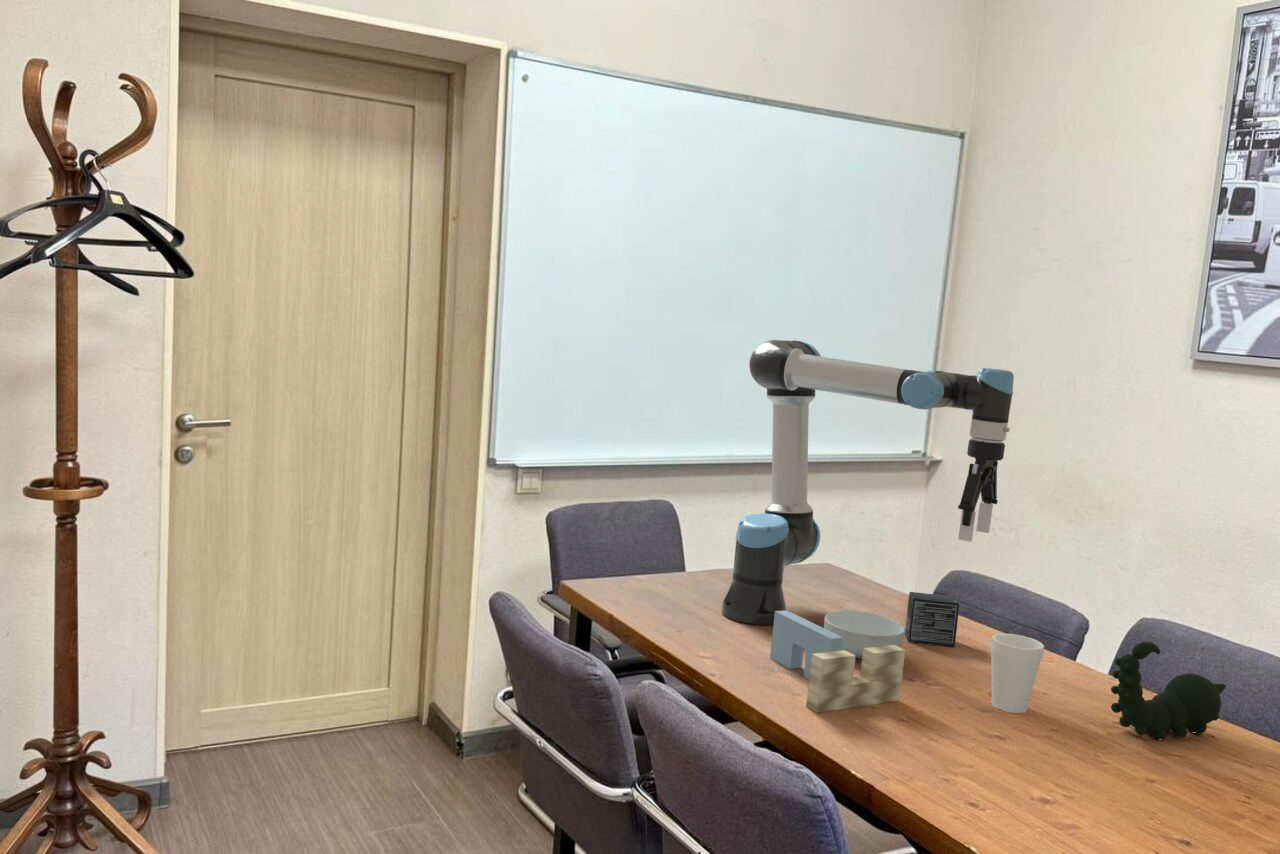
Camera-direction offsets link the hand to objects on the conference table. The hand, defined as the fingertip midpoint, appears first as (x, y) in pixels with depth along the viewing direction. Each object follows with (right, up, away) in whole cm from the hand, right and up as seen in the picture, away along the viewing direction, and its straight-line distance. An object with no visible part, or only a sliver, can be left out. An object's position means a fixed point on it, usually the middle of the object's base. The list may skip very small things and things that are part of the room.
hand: (973, 536), depth 234 cm
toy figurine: (+25, -33, -35) cm, 54 cm away
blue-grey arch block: (-40, -25, -19) cm, 51 cm away
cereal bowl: (-25, -25, -4) cm, 36 cm away
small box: (-7, -25, +10) cm, 28 cm away
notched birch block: (-33, -28, -34) cm, 55 cm away
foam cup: (-2, -30, -28) cm, 41 cm away
